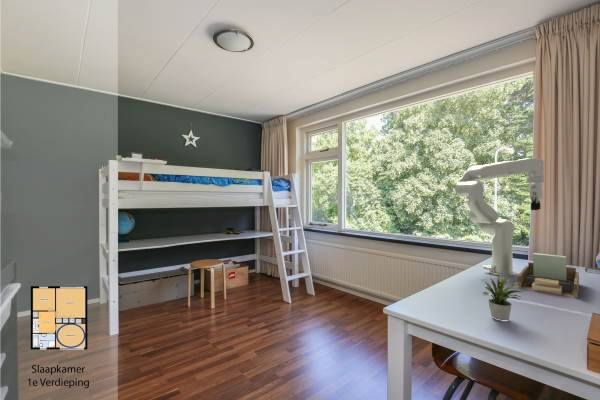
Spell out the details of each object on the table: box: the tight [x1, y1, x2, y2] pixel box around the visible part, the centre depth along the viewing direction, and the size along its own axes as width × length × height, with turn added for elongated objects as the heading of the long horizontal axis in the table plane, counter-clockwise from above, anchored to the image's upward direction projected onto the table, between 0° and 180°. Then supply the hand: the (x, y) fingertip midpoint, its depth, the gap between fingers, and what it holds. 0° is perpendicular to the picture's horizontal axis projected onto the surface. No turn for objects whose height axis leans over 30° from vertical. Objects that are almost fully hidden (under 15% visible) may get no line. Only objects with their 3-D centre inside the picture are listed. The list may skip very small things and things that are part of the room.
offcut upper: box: [535, 278, 559, 289], centre depth 127 cm, size 4×8×2 cm, turn 44°
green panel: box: [532, 252, 567, 280], centre depth 138 cm, size 3×12×14 cm, turn 44°
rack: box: [517, 261, 580, 299], centre depth 134 cm, size 25×20×9 cm
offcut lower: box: [532, 282, 562, 296], centre depth 127 cm, size 6×10×2 cm, turn 44°
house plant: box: [481, 275, 523, 321], centre depth 102 cm, size 14×14×16 cm
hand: (535, 209), depth 162 cm, fingers open, 9 cm apart
